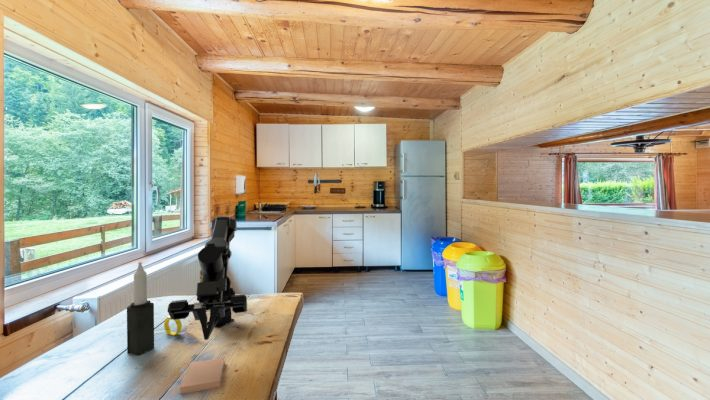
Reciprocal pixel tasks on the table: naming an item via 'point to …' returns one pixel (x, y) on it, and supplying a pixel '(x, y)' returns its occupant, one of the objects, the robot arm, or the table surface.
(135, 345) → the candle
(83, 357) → the table surface
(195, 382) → the tile
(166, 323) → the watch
